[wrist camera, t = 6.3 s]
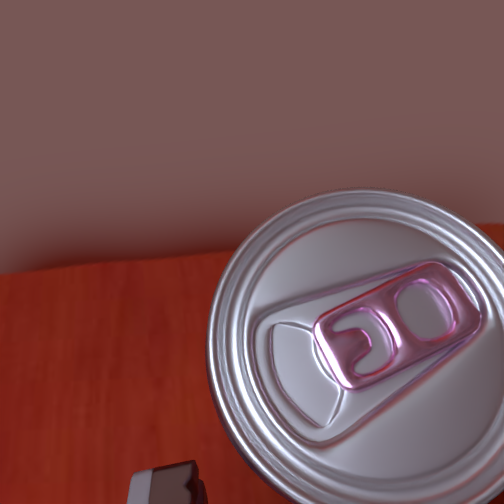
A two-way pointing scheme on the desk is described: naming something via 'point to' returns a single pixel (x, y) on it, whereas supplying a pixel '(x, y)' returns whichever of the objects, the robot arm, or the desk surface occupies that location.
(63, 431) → the desk surface
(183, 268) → the desk surface
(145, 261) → the desk surface
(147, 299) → the desk surface
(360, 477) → the beverage can
